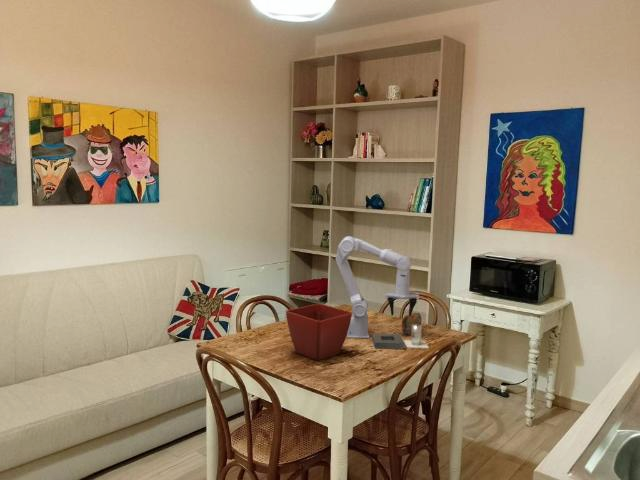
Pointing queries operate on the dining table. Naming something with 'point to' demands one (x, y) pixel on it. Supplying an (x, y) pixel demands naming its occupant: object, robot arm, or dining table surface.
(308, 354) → the plant pot
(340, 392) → the dining table surface
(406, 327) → the tin
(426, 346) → the mat
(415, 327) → the silver metal cylinder
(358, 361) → the dining table surface
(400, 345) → the housing
